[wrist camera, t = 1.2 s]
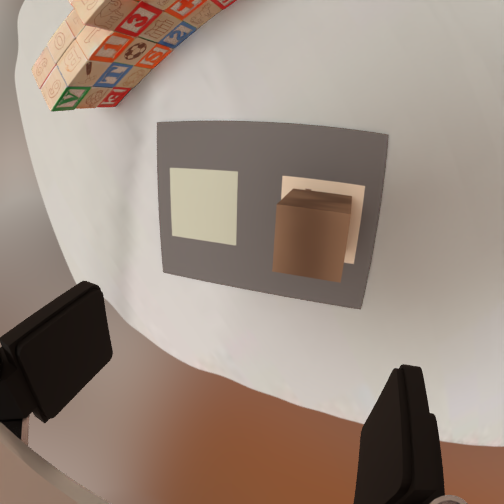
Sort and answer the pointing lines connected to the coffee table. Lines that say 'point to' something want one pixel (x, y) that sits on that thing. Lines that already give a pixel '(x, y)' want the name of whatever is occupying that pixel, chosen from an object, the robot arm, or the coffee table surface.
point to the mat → (262, 200)
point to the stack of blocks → (113, 47)
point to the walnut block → (312, 234)
